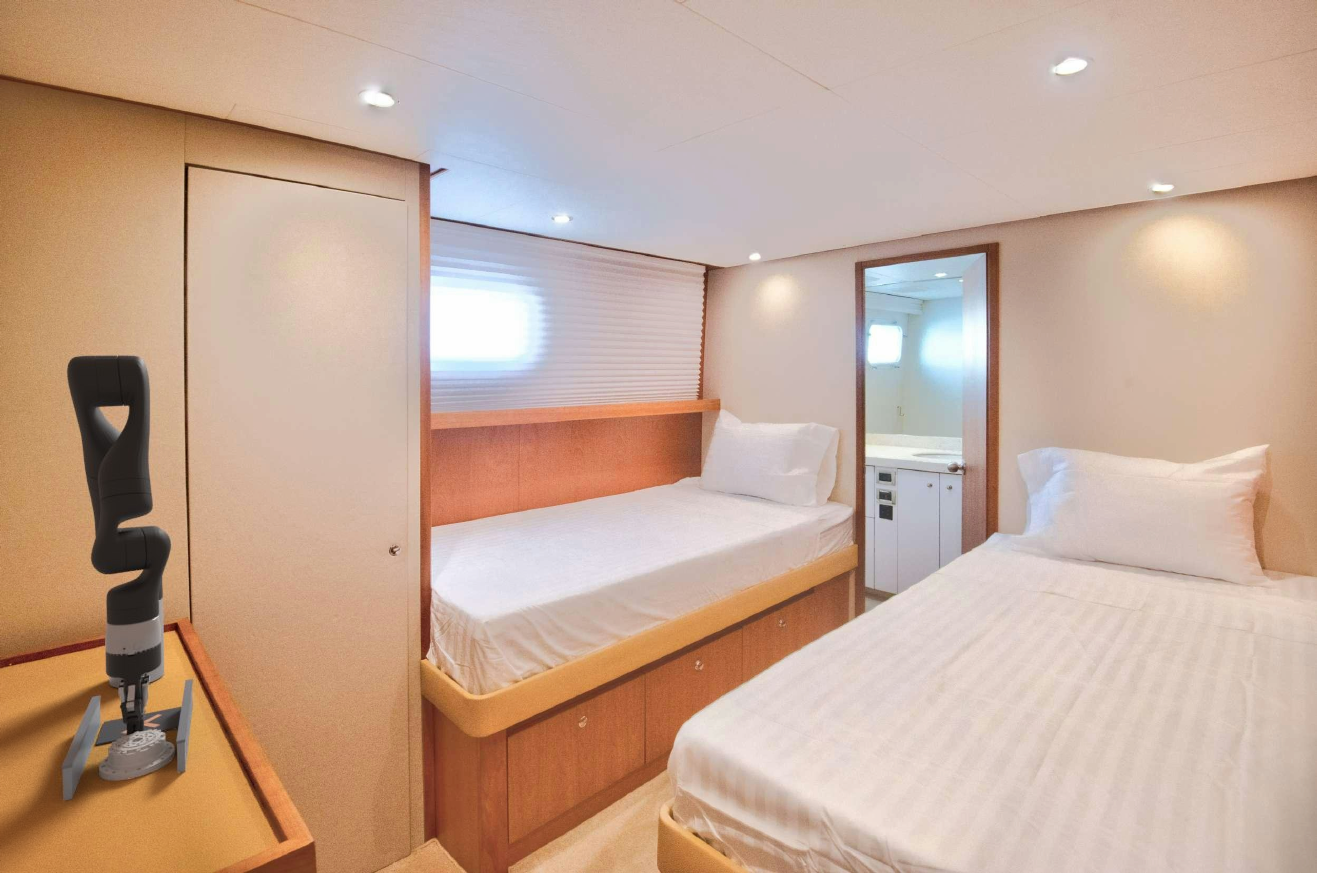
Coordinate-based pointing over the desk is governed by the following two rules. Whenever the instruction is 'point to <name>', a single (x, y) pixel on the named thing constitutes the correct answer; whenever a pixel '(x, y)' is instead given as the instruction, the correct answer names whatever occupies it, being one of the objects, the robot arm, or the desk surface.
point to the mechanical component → (136, 755)
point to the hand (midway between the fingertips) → (135, 739)
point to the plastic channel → (89, 730)
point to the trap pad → (152, 720)
